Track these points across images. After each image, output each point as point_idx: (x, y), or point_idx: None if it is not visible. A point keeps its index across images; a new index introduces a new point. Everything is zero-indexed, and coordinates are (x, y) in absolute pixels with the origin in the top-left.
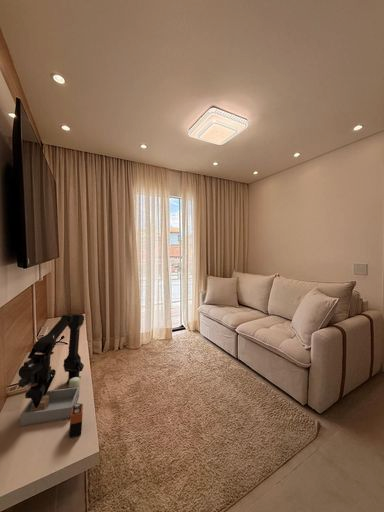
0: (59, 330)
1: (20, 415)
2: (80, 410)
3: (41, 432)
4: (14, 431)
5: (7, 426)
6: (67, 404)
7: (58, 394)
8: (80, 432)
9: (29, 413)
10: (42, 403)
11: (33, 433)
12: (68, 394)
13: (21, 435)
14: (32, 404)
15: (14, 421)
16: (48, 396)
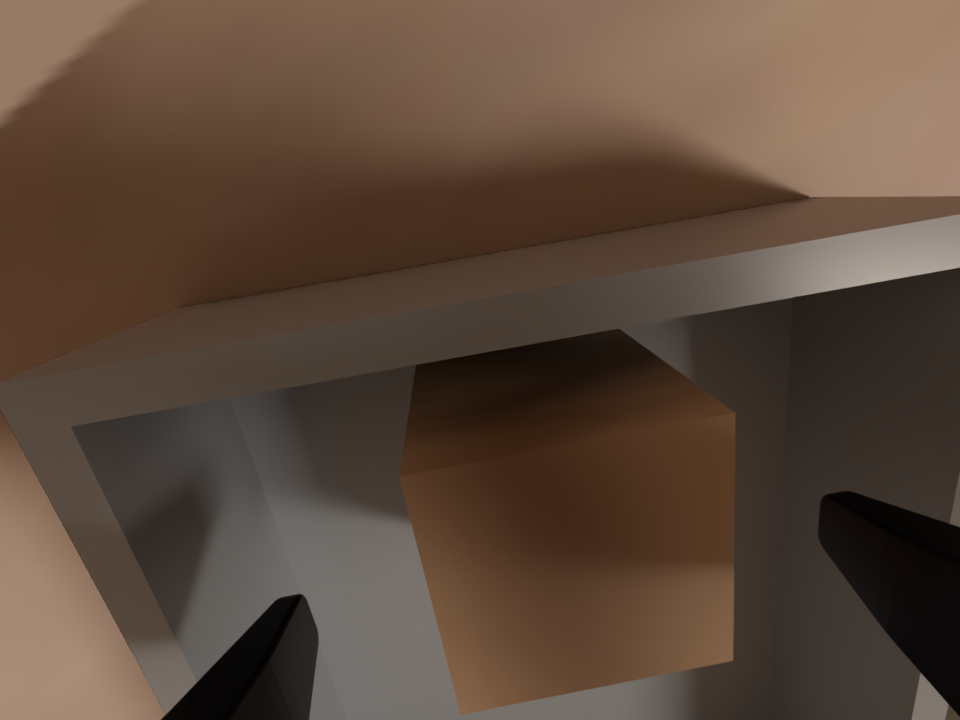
0: None
1: (13, 376)
2: None
3: (112, 656)
4: (60, 292)
5: (152, 65)
6: (616, 715)
7: (839, 619)
8: None
9: (89, 569)
10: (447, 657)
11: (77, 580)
12: (809, 716)
13: (8, 453)
14: (402, 473)
15: (292, 118)
16: (700, 659)
